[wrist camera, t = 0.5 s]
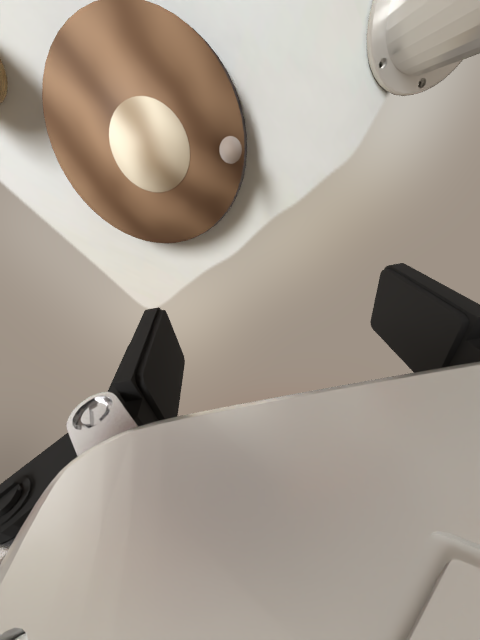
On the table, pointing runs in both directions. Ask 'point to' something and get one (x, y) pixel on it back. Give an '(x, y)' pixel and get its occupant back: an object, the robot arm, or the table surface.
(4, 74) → the cover
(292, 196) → the table surface
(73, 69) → the turntable
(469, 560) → the robot arm
